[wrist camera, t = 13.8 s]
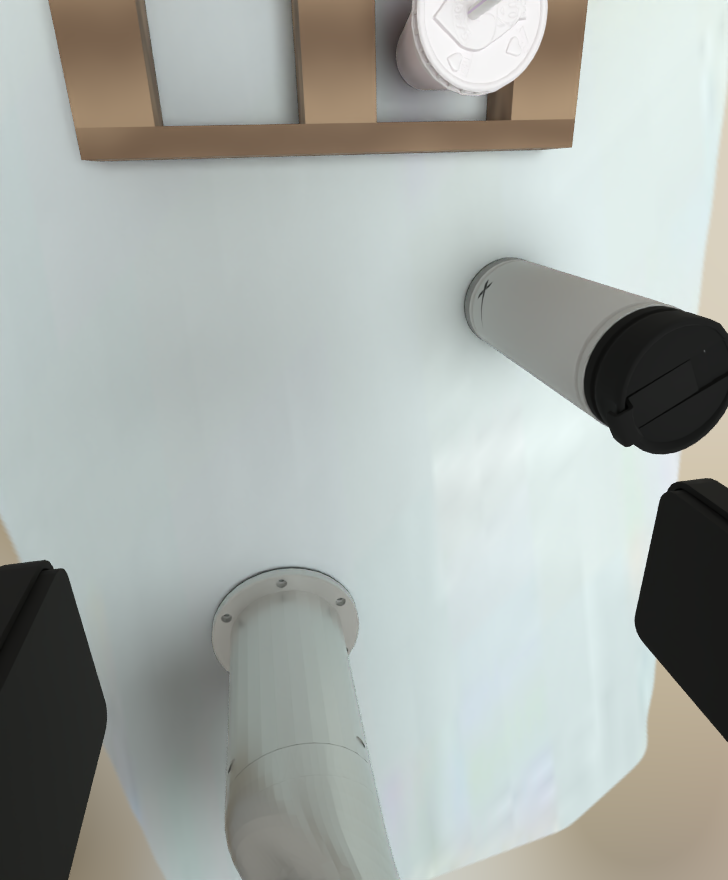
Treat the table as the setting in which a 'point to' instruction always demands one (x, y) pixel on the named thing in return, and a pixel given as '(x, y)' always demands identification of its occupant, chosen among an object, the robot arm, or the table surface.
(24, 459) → the table surface
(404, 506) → the table surface
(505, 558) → the table surface
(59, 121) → the table surface
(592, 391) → the travel mug
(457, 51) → the smoothie
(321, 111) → the wooden frame
